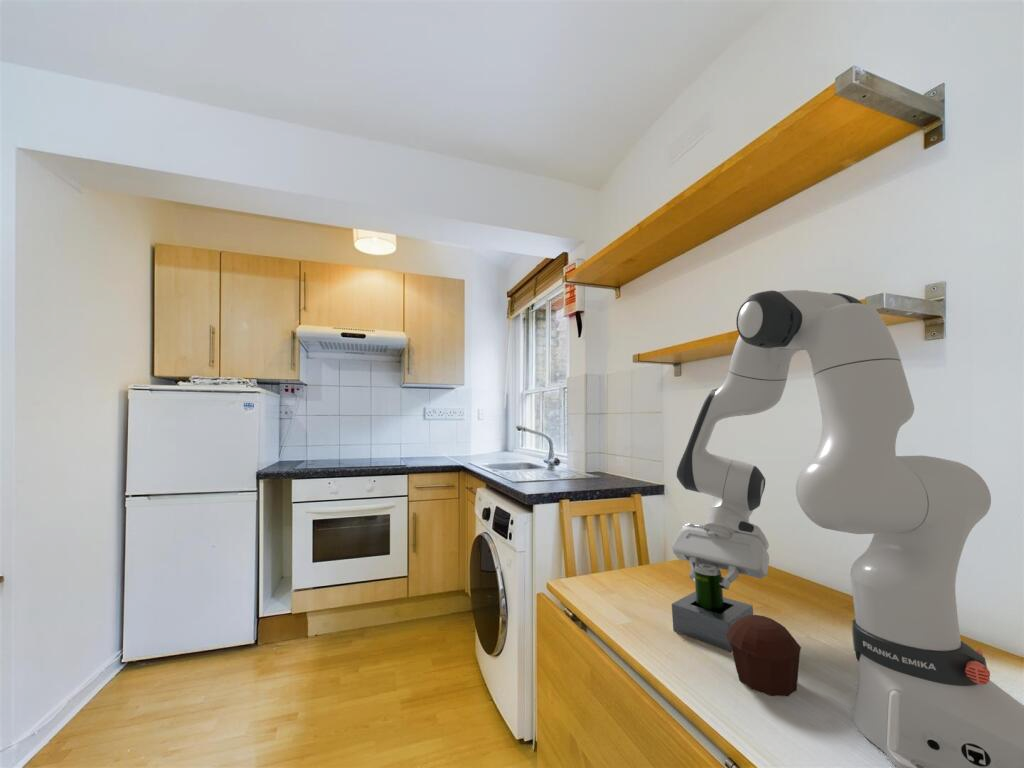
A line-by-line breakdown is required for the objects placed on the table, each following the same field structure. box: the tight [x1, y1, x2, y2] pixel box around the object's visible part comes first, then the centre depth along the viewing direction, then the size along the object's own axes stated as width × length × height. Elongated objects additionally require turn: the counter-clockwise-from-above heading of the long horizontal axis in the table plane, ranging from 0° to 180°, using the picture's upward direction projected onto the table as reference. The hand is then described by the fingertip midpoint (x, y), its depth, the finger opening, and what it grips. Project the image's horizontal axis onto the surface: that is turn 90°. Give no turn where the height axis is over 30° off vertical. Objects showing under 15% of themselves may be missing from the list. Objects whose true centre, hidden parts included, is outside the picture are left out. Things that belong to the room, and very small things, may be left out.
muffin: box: [726, 614, 802, 697], centre depth 72 cm, size 12×11×10 cm
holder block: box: [671, 590, 754, 653], centre depth 90 cm, size 12×12×6 cm
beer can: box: [694, 563, 724, 614], centre depth 90 cm, size 5×5×12 cm
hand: (708, 583), depth 90 cm, fingers closed on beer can, 5 cm apart
